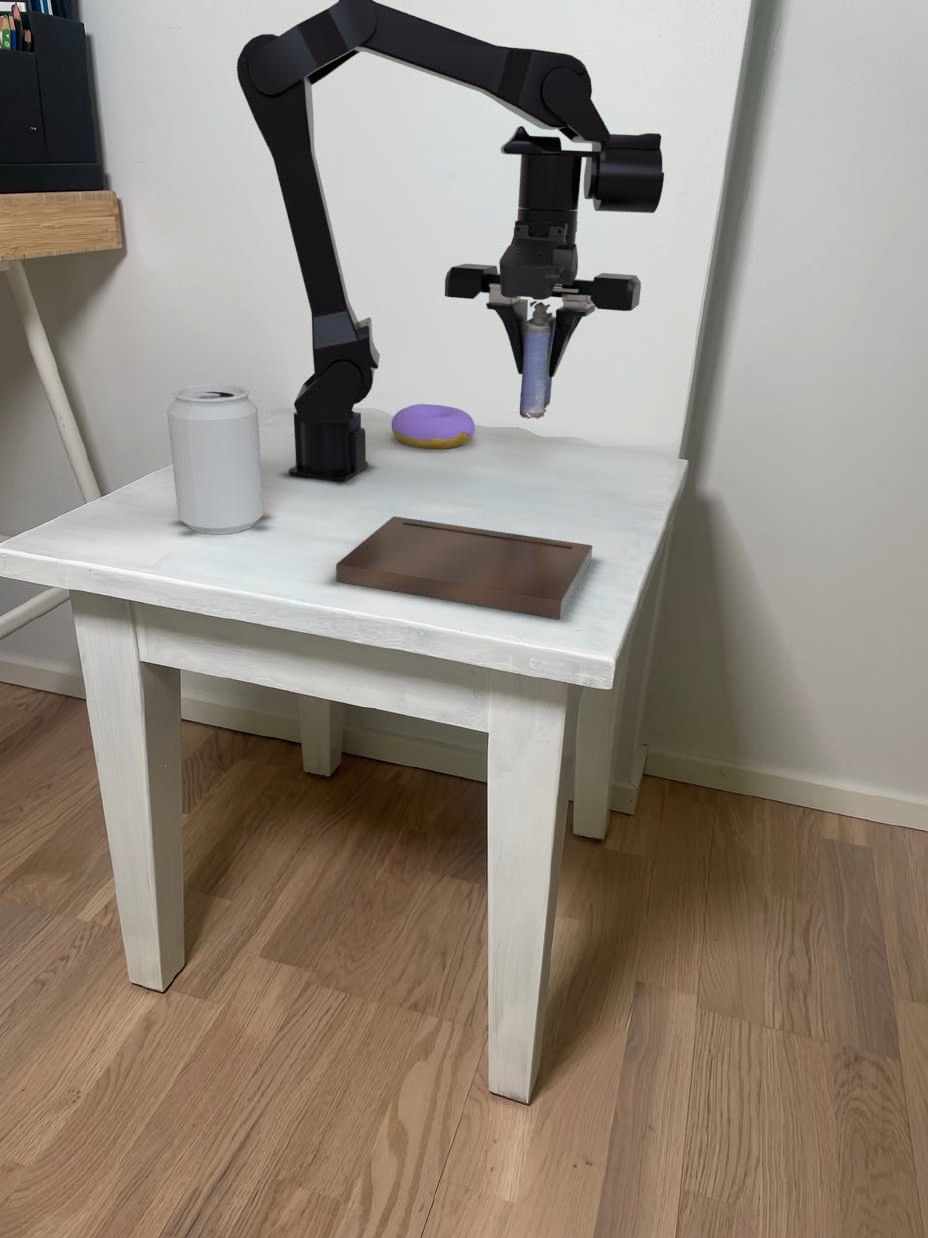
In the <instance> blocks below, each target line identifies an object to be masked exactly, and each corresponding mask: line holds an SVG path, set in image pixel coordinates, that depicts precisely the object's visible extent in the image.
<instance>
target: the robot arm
mask: <svg viewBox="0 0 928 1238" xmlns="http://www.w3.org/2000/svg"><path fill="white" fill-rule="evenodd" d="M360 53H367V54H371V55H373V56H376V57H378V58H379V57H380V58H382V59H384V60H387V61H391V62H392V63H397V64H399V65H401V66H405V67H408V68H411V69H413V70H416V71H419V72H422V73H425V74H428V75H431V76H434V77H436V78H439V79H442V80H445V81H448V82H450V83H454V84H455V85H459V86H461V87H464V88H468V89H470V90H473V91H475V92H479V93H481V94H483V95H485V96H486V97H488V98H490V99H492V100H493V101H495V102H496V103H497V104H499V105H501V106H502V107H503V108H505V109H507V110H508V111H509V112H511V113H513V114H515V115H516V116H517V117H520V118H521V119H524V120H525V121H526V122H529V123H530V124H532V125H534V126H535V127H536V128H539V129H541V130H546V131H547V130H548V131H554V130H558V131H559V132H560V133H561V134H562V135H563V136H564V137H566V138H567V139H568V140H569V141H570V142H572V143H573V144H590V145H591V150H573V149H571V150H570V149H563V148H562V140H561V138H560V136H549V135H547V136H545V135H530V134H529V133H528V132H527V130H526V128H525V126H523V125H520V126H517V128H516V129H515V131H514V133H513V134H512V136H511V137H510V138H509V139H508V141H506V142H505V143H504V144H503V145H501V147H500V153H501V155H502V154H503V155H512V156H513V155H515V156H520V166H519V167H520V168H519V186H518V205H517V219H516V220H515V221H514V228H513V236H512V239H511V242H510V244H509V245H508V246H507V247H506V249H505V251H504V253H503V254H502V256H501V257H500V259H499V261H498V263H499V264H498V265H499V270H498V266H497V265H492V264H475V263H462V264H458V265H454V266H451V267H450V268H449V270H448V271H446V275H445V278H444V297H446V298H455V299H456V298H457V299H466V300H474V299H476V298H477V297H478V296H479V295H480V294H481V293H482V294H483V293H484V294H488V302H487V303H485V306H486V309H487V310H493V311H495V313H496V315H497V316H498V317H499V318H500V321H501V323H502V324H503V326H504V329H505V331H506V334H507V337H508V340H509V345H510V347H511V352H512V355H513V359H514V363H515V367H516V370H517V374H518V375H522V372H523V356H524V340H525V325H526V323H527V321H528V315H529V314H528V311H529V310H528V309H529V307H528V305H529V299H527V298H532V300H534V301H543V300H547V299H549V298H560V299H561V302H563V305H562V306H560V307H558V308H557V309H555V317H556V327H555V333H554V339H553V344H552V350H551V356H550V362H549V377H552V378H553V377H555V376H556V373H557V371H558V369H559V366H560V364H561V361H562V359H563V357H564V354H565V352H566V350H567V348H568V346H569V343H570V340H571V339H572V336H573V334H574V333H575V331H576V330H577V327H578V325H579V323H580V322H581V320H582V318H585V317H588V316H589V315H591V314H592V313H594V312H595V311H596V309H597V310H606V311H618V312H619V311H620V312H631V311H633V310H634V309H635V308H636V307H638V306H639V305H640V299H641V291H642V290H641V289H642V282H641V280H640V279H639V277H638V276H637V275H636V274H623V273H622V274H621V273H607V272H601V273H600V274H596V275H594V276H593V279H579V278H576V277H577V275H578V271H579V255H578V247H577V244H576V237H577V232H578V223H579V222H578V212H579V211H578V210H579V201H580V190H581V189H580V187H581V177H582V163H583V158H585V166H584V173H583V174H584V175H583V197H584V199H585V200H592V204H593V205H592V206H593V209H594V211H595V212H612V213H613V212H614V213H639V214H641V213H642V214H654V213H655V212H656V211H657V209H658V207H659V204H660V201H661V198H662V193H663V187H664V180H665V172H663V154H662V149H661V143H662V135H661V133H657V132H656V133H653V132H646V133H641V134H620V133H619V134H618V133H611V132H610V131H609V129H608V127H607V125H606V124H605V121H604V120H603V118H602V117H601V114H600V112H599V111H598V109H597V107H596V106H595V104H594V101H593V100H592V93H593V86H592V79H591V76H590V73H589V71H588V69H587V67H586V64H584V62H582V60H580V59H579V58H577V57H575V56H574V55H571V54H568V53H562V52H556V51H548V50H541V49H536V48H535V49H534V48H521V47H510V46H503V45H497V44H493V43H490V42H487V41H485V40H482V39H480V38H477V37H474V36H471V35H469V34H466V33H463V32H460V31H458V30H454V29H451V28H449V27H446V26H443V25H440V24H437V23H435V22H432V21H430V20H427V19H424V18H421V17H419V16H416V15H413V14H410V13H408V12H404V11H402V10H399V9H397V8H394V7H391V6H388V5H386V4H382V3H380V2H377V1H375V0H338V1H337V2H336V3H334V4H332V5H331V6H329V7H328V8H326V9H324V10H322V11H320V12H318V13H316V14H314V15H312V16H310V17H309V18H306V19H304V20H302V21H301V22H299V23H297V24H296V25H294V26H292V27H291V28H289V29H288V30H285V32H283V33H282V34H280V35H277V34H273V33H262V34H259V35H257V36H255V37H252V38H250V40H248V42H247V43H245V45H244V46H243V48H242V50H241V51H240V53H239V56H238V58H237V62H236V74H237V80H238V83H239V86H240V88H241V91H242V93H243V95H244V97H245V98H244V99H245V100H246V102H247V105H248V107H249V110H250V112H251V114H252V117H253V119H254V121H255V124H256V126H257V127H258V130H259V132H260V134H261V136H262V138H263V141H264V142H265V144H266V146H267V148H268V151H269V152H270V154H271V155H270V156H271V157H272V159H273V164H274V168H275V171H276V175H277V179H278V184H279V188H280V191H281V195H282V199H283V204H284V208H285V211H286V215H287V220H288V223H289V227H290V232H291V236H292V240H293V244H294V248H295V251H296V252H295V253H296V256H297V260H298V264H299V268H300V273H301V276H302V280H303V284H304V288H305V292H306V296H307V300H308V304H309V309H310V313H311V335H312V336H311V339H312V343H311V344H312V359H313V360H312V361H313V374H311V375H310V376H309V378H308V379H306V380H305V382H304V383H303V384H302V385H301V387H300V390H299V392H298V393H297V396H296V398H295V400H294V404H293V406H294V409H295V412H293V429H294V430H293V431H294V433H293V434H294V449H295V465H294V466H292V467H290V468H289V469H288V475H290V476H297V477H303V478H312V479H319V480H324V481H325V480H326V481H334V482H341V483H343V482H347V481H348V480H349V479H351V478H353V477H355V476H356V475H357V474H360V472H362V471H363V470H365V469H366V468H367V467H369V462H368V461H367V458H366V457H367V455H366V453H367V452H366V451H367V448H366V445H367V444H366V429H365V428H364V427H362V413H361V412H356V411H353V408H354V406H355V405H357V404H359V403H361V402H362V401H363V400H364V399H366V398H367V396H368V395H369V393H370V392H371V390H372V387H373V384H374V376H375V371H376V370H378V369H379V364H380V357H381V354H380V353H379V351H378V350H377V348H376V346H375V343H374V339H373V326H372V325H373V323H372V318H371V317H366V318H364V319H361V320H358V317H357V315H356V314H355V312H354V309H353V307H352V305H351V302H350V300H349V295H348V292H347V287H346V283H345V278H344V274H343V270H342V264H341V262H340V256H339V252H338V248H337V242H336V239H335V235H334V231H333V225H332V221H331V218H330V213H329V208H328V204H327V200H326V195H325V191H324V187H323V186H324V185H323V182H322V178H321V174H320V170H319V169H320V168H319V165H318V160H317V156H316V151H315V150H316V149H315V126H314V125H315V123H314V122H315V121H314V103H313V102H314V101H313V89H312V88H313V87H312V86H314V85H315V84H317V83H318V82H319V81H321V80H323V79H325V78H326V77H328V76H329V75H330V74H332V73H333V72H335V71H336V70H337V69H339V68H340V67H342V66H343V65H344V64H345V63H347V62H348V61H350V60H351V59H352V58H353V57H355V56H356V55H358V54H360ZM522 297H524V298H522Z"/></svg>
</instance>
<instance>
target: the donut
mask: <svg viewBox="0 0 928 1238" xmlns="http://www.w3.org/2000/svg"><path fill="white" fill-rule="evenodd" d="M391 429H392V433H393V435H394V437H396V439H397V440H398V441H400V442H401V443H403V444H406V445H409V446H411V447H414V448H415V447H416V448H421V449H432V450H436V449H437V450H439V449H450V448H451V449H452V448H457V447H459V446H462V445H464V444H466V443H467V442H469V441H470V440H471V439H472V437H473V435H474V434H475V431H476V426H475V421H474V419H473V418H472V416H471V415H470V414H469V413H468V412H466V411H464V410H462V409H460V408H458V407H452V406H447V405H441V404H427V403H426V404H425V403H418V404H412V405H409V406H407V407H403V408H402V409H400V410H399V411H397V412H396V413H395V414H394V416H393V417H392V419H391Z"/></svg>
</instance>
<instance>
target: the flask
mask: <svg viewBox="0 0 928 1238" xmlns="http://www.w3.org/2000/svg"><path fill="white" fill-rule="evenodd" d="M529 307H530V308H532V307H533V308H534V310H533V311H532V314H531V316H532V317H531V318H529V319H527V323H526V325H525V340H524V356H523V372H522V374H521V384H520V385H521V386H520V387H521V388H520V393H519V394H520V395H519V397H520V400H519V416H520V417H521V418H522V419H526V420H527V419H528V420H529V419H536V420H539V419H540V418H544V417H545V413H546V412H548V411H547V408H548V406H550V404H551V397H552V386H553V385H552V383H553V377H549V362H550V356H551V350H552V344H553V339H554V333H555V327H556V316H555V315H553V313H554V312H547V311H548V309H549V307H551V304H549V303H547V304H546V305H545V304H544V303H543V302H542V301H539V302H538V300H534V301H532V302H530V303H529Z"/></svg>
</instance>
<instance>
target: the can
mask: <svg viewBox="0 0 928 1238" xmlns="http://www.w3.org/2000/svg"><path fill="white" fill-rule="evenodd" d="M249 394H250V391H249V390H248V389H247V388H246V387H244V386H240V385H236V384H229V383H199V384H190V385H186V386H182V387H178V388H177V389H175V390H174V391H173V392H172V395H173V396H174V398H175V399H174V400H173V402H172V403H171V404H170V406H169V407H168V408H167V410H166V414H167V423H168V432H169V443H170V451H171V461H172V470H173V480H174V481H173V482H174V489H175V490H174V491H175V500H176V508H177V517H178V518H179V520H180V521H181V522H182V523H184V524H185V525H186V526H188V527H189V529H191V530H193V531H195V532H198V533H202V534H209V535H227V534H228V535H229V534H235V533H240V532H244V531H246V530H248V529H251V528H252V527H253V526H255V525H256V523H257V521H259V520H260V519H262V517H263V516H264V513H265V508H264V507H265V505H264V503H265V502H264V489H263V475H262V474H263V473H262V472H263V471H262V457H261V443H260V441H261V440H260V428H259V426H260V424H259V409H258V407H257V405H256V404H255V403H254V402H252V401H251V399H249V397H248V396H249Z"/></svg>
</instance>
